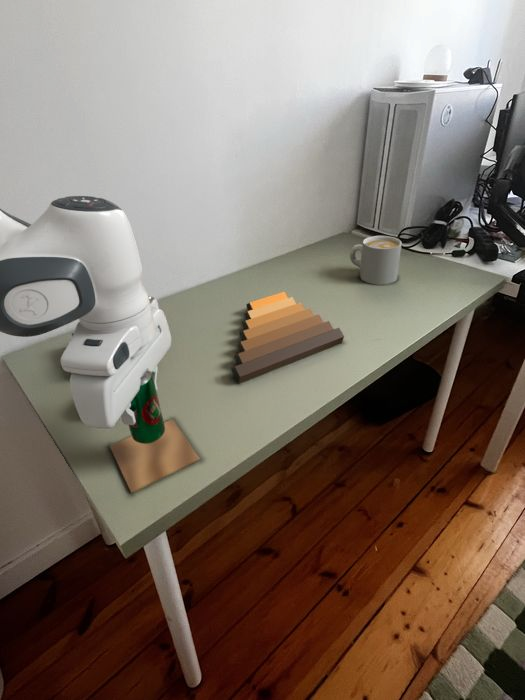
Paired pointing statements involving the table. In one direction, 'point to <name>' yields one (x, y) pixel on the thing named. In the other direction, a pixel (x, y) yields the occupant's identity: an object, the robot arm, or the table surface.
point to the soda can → (147, 412)
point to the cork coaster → (153, 457)
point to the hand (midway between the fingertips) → (141, 406)
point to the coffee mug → (378, 259)
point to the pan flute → (280, 336)
